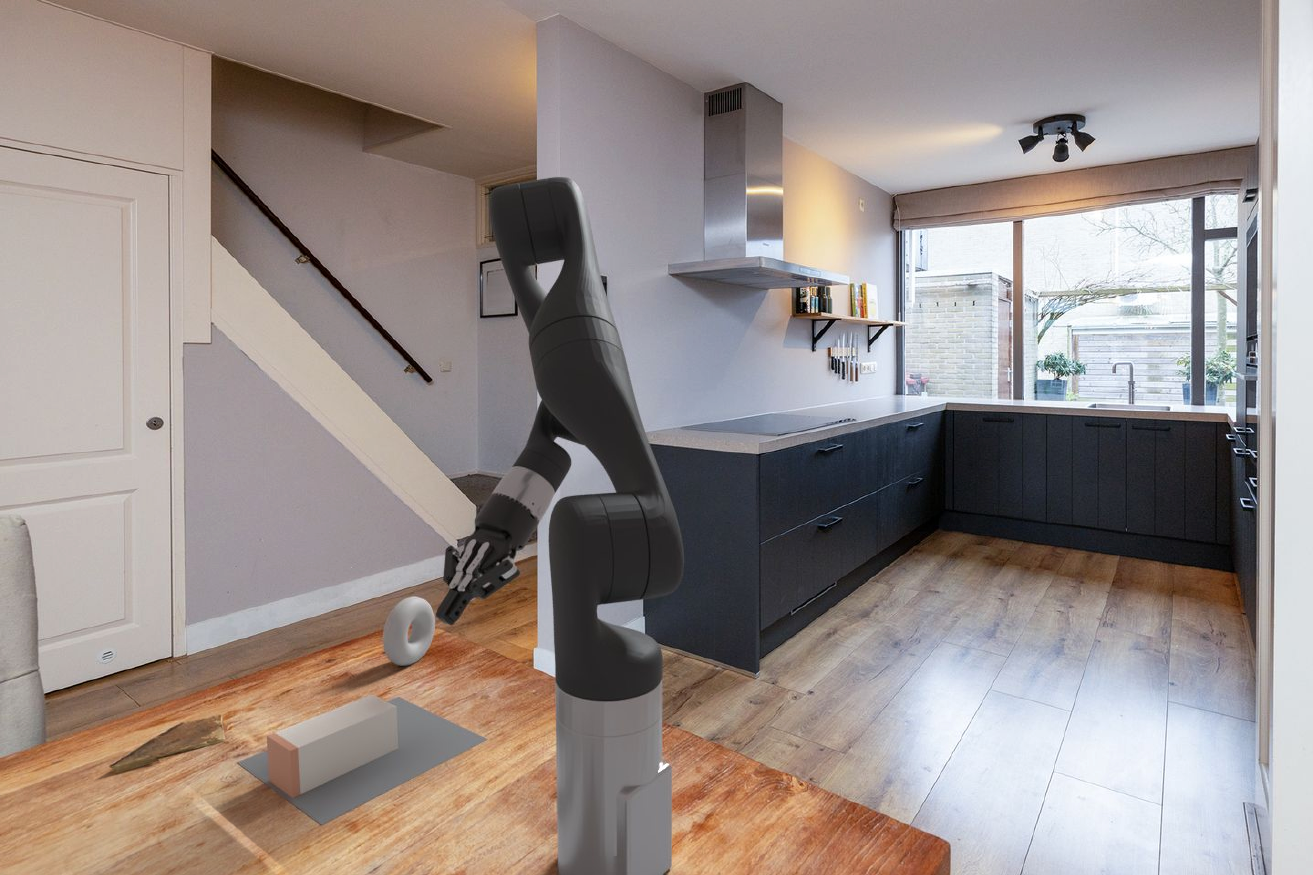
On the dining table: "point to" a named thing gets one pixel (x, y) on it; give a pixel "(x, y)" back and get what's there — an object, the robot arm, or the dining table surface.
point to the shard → (174, 742)
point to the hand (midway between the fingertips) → (443, 620)
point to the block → (331, 744)
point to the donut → (397, 631)
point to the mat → (380, 764)
